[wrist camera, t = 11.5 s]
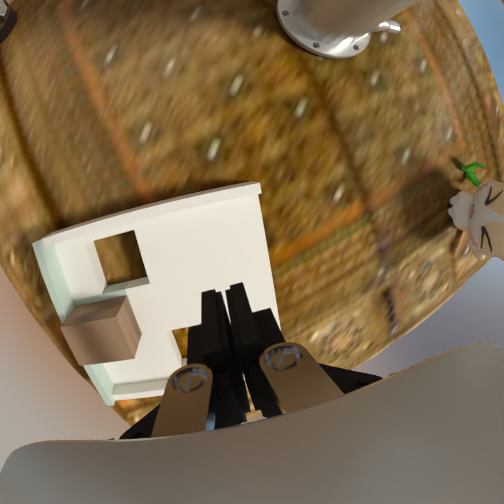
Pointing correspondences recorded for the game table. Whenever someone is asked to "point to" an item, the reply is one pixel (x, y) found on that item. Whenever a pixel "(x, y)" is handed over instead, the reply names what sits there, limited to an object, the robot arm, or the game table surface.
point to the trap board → (162, 275)
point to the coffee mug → (6, 20)
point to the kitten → (481, 215)
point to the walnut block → (102, 331)
